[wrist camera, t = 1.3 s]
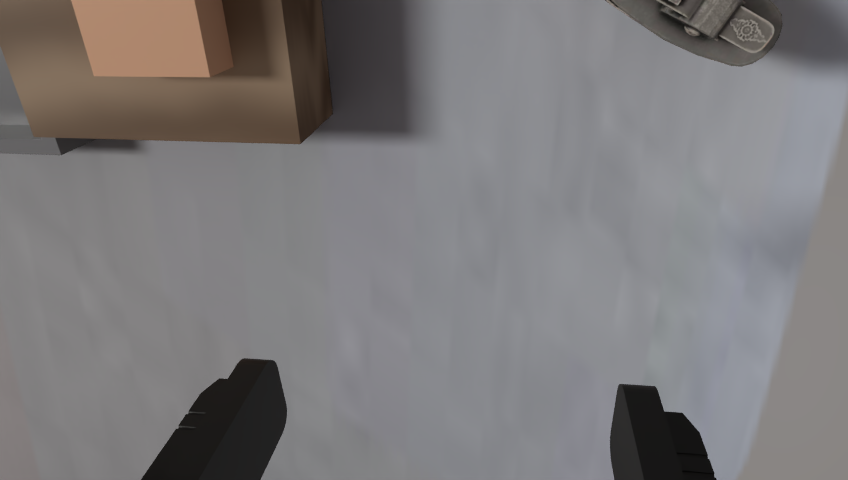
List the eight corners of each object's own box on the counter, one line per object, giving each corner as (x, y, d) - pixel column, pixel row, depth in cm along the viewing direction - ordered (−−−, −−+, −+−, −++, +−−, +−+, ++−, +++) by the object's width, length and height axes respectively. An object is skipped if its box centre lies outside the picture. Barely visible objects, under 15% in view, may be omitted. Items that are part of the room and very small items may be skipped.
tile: (90, -65, 26) (51, -66, 24) (209, -69, 25) (180, -70, 23) (125, 66, 29) (94, 76, 27) (233, 66, 28) (209, 77, 26)
